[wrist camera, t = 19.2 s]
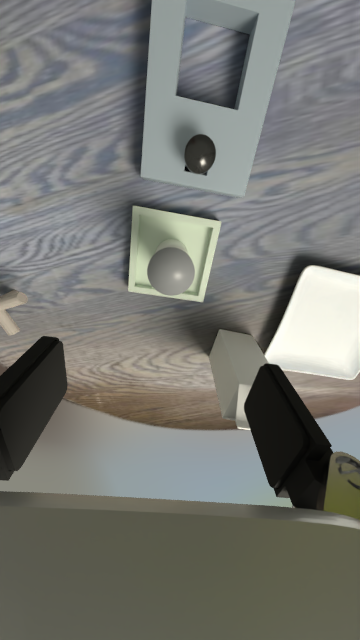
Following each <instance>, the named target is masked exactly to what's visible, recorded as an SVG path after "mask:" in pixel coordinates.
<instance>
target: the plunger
mask: <svg viewBox="0 0 360 640" xmlns="http://www.w3.org/2000/svg"><path fill="white" fill-rule="evenodd" d="M215 157H216V149H215V145H214V143H213V141H212V140H211V138H210V137H208V136H207V135H204V134H198V135H195V136H193V137H192V138H191V139H190V140H189V141H188V143H187V145H186V148H185V153H184V160H185V164H186V166H187V168H188V169H189V170H190V171H191V172H192V173H194V174H204V173H206V172H207V171H208V170H209V169H210V168H211V167H212V165H213V163H214V161H215Z"/></svg>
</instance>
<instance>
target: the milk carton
mask: <svg viewBox="0 0 360 640" xmlns="http://www.w3.org/2000/svg"><path fill="white" fill-rule="evenodd" d="M209 360H210V364H211V369H212V373H213V378H214V382H215V387H216V391H217V396H218V400H219V404H220V409H221V413H222V418H225V419H230V420H235V421H236V425H237V428H239V429H246V430H250V427H249V424H248V421H247V418H246V415H245V412H244V403H245V401H246V398H247V396H248V394H249V391H250V389H251V387H252V384H253V382H254V380H255V378H256V375H257V373H258V371H259V368H260V367H261V366H263V365H264V364H265V363H268V364H269V362H268V361H267V359H266V357H265V356H264V354H263V352H262V351H261V349H260V347H259V346H258V344H257V343H256V341H255V339H254V338H253V336H251V335H247V334H242V333H237V332H232V331H227V330H223V329H219V331H218V334H217V337H216V339H215V342H214V345H213V347H212V350H211V353H210V355H209Z"/></svg>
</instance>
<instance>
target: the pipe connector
mask: <svg viewBox="0 0 360 640" xmlns="http://www.w3.org/2000/svg"><path fill="white" fill-rule="evenodd" d="M27 301H28V299H27V296H26V295H25V294H24V293H22V292H18V291H16V290H12V291H10V292H8V293H6V294H4V295H2V296H0V325H1V326H2V328H3V329H4V330H5V331H6V333H7V334H8V335H9V336H10V335H13V334H16V333H17V332H19V331H20V329H19V327H18V326H17V325H16V323H15V322H14V321H13V319H12V318H11V317H10V315H9V314H8V313H7V311H6V310H5V309H8V308H12V307H15V306H18V305H22V304H25V303H27Z"/></svg>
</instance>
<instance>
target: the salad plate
mask: <svg viewBox="0 0 360 640" xmlns="http://www.w3.org/2000/svg"><path fill="white" fill-rule="evenodd" d="M264 356H265V357H266V359H267V361H268V362H269V364H276V365H279V366H280V368H281V369H282V370H287V371H294V372H301V373H308V374H315V375H321V376H327V377H334V378H340V379H347V380H352V379H354V378H355V377H356V376H357V375H358V373H359V372H360V275H356V274H351V273H347V272H343V271H338V270H334V269H330V268H326V267H322V266H316V265H309V266H307V267H305V268H304V269H303V271H302V272H301V274H300V276H299V279H298V281H297V284H296V286H295V289H294V291H293V294H292V296H291V299H290V301H289V304H288V306H287V308H286V311H285V313H284V315H283V318H282V320H281V322H280V324H279V327H278V329H277V331H276V333H275V335H274V337H273V339H272V341H271V343H270V345H269V347H268V349H267V351H266V352H265V354H264Z"/></svg>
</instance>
